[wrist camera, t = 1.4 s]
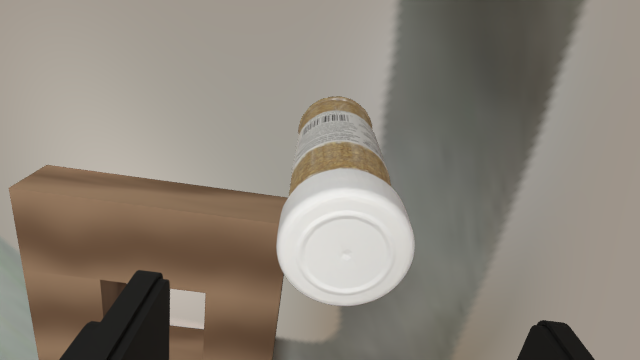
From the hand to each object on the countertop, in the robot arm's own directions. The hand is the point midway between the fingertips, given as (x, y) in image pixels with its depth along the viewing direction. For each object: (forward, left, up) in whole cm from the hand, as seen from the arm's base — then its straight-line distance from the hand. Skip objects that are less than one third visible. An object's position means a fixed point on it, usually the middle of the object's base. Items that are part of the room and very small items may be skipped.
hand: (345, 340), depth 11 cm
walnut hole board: (+13, -10, -17) cm, 24 cm away
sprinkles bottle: (-1, 0, -17) cm, 17 cm away
